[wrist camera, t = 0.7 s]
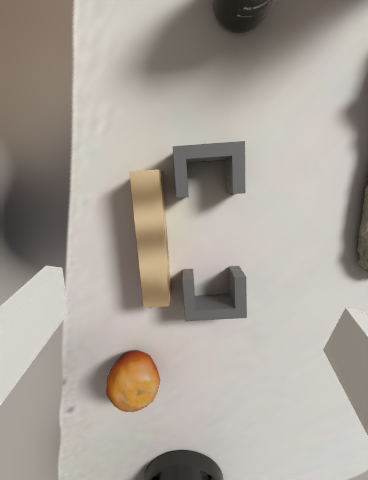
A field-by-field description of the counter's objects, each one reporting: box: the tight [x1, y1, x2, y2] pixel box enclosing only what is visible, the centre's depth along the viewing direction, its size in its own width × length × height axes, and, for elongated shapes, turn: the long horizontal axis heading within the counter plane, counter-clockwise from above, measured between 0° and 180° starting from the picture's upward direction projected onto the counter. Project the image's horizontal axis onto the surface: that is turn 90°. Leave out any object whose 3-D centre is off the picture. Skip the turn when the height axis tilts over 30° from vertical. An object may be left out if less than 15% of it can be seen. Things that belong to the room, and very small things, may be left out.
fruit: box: [106, 350, 160, 412], centre depth 37 cm, size 8×8×8 cm
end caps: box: [173, 141, 247, 321], centre depth 33 cm, size 23×8×4 cm, turn 4°
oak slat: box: [129, 170, 171, 307], centre depth 33 cm, size 18×4×5 cm, turn 4°
